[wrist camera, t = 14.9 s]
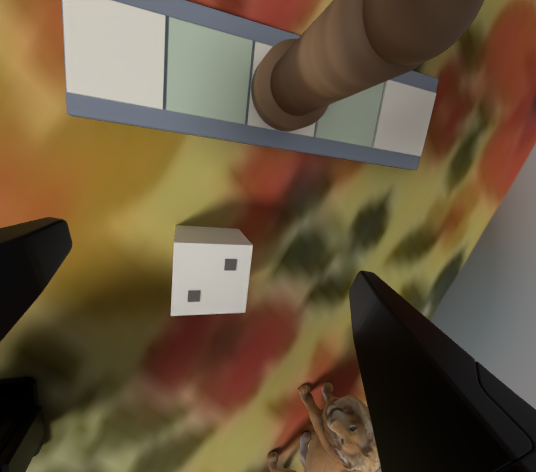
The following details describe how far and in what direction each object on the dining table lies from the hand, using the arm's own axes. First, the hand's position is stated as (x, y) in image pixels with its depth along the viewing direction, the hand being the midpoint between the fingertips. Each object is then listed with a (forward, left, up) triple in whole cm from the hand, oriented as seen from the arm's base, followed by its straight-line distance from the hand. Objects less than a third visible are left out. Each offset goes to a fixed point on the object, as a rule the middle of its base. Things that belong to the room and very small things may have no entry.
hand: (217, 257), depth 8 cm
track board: (+5, +8, -11) cm, 15 cm away
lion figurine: (+11, -20, -12) cm, 26 cm away
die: (+1, -4, -11) cm, 12 cm away
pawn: (+5, +8, -10) cm, 14 cm away
